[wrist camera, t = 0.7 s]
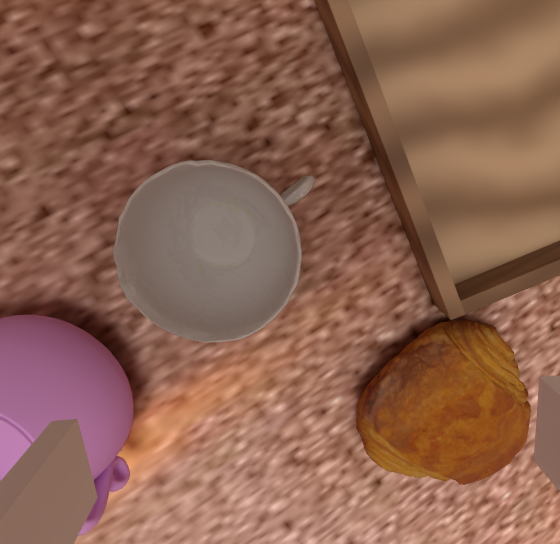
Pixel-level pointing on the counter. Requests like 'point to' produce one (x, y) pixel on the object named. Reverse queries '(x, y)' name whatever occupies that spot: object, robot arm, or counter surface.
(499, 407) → the croissant
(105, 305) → the counter surface
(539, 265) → the tray
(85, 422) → the teapot
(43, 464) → the robot arm
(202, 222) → the teacup
